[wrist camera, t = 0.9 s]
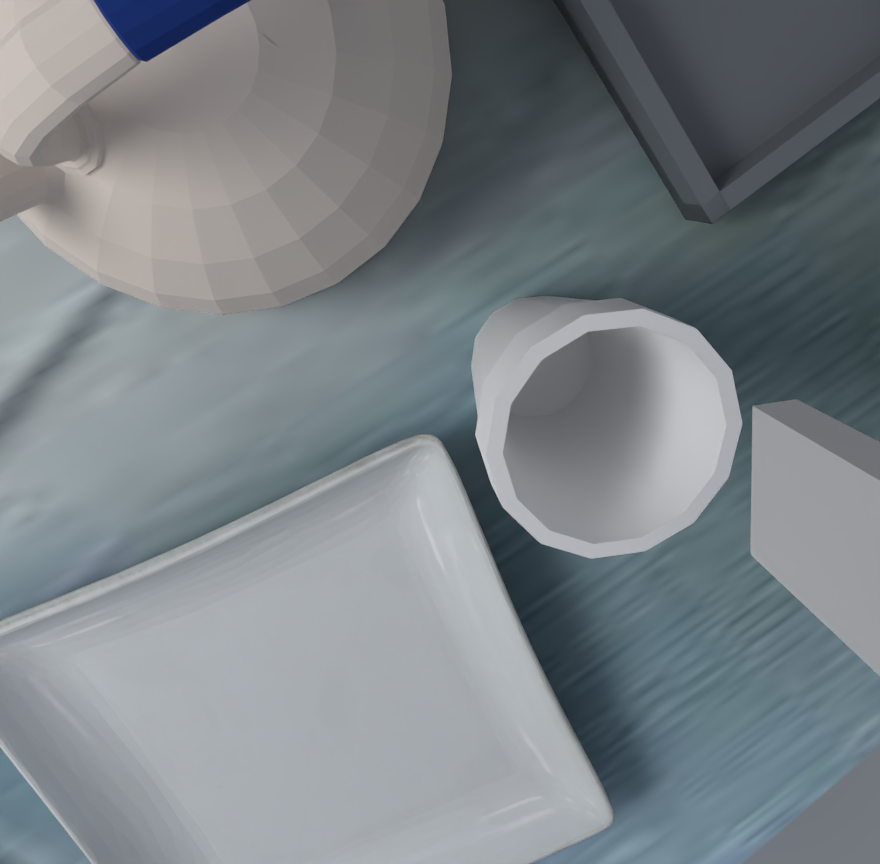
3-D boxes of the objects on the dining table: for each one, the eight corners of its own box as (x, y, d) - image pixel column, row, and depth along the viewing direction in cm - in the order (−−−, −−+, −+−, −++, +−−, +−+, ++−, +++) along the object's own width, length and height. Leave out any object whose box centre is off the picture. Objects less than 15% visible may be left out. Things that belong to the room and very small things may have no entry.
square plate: (427, 404, 42) (437, 427, 39) (602, 783, 51) (623, 831, 48) (-47, 620, 43) (-82, 663, 39) (210, 957, 52) (201, 1017, 48)
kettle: (-142, -26, 33) (-638, -220, 16) (295, -303, 32) (254, -818, 15) (156, 388, 40) (26, 556, 23) (527, 169, 39) (678, 177, 22)
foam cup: (572, 227, 40) (678, 257, 28) (652, 383, 43) (779, 471, 31) (405, 330, 40) (437, 404, 28) (496, 476, 44) (561, 600, 31)
